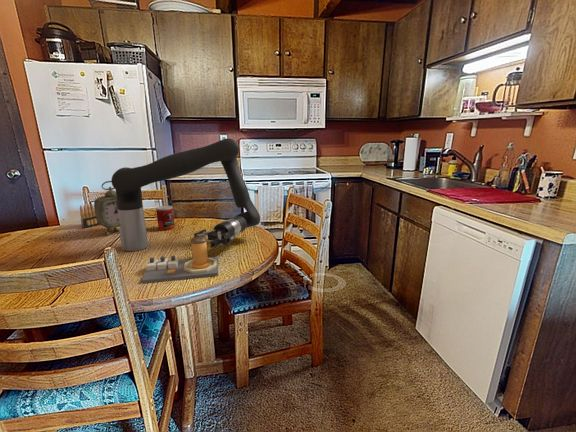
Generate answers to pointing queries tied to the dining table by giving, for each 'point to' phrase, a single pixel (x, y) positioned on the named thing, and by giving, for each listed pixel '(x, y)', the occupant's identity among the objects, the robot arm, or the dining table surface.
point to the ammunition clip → (88, 217)
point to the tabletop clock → (107, 210)
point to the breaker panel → (177, 269)
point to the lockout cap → (199, 253)
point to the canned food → (165, 217)
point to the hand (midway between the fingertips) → (201, 243)
